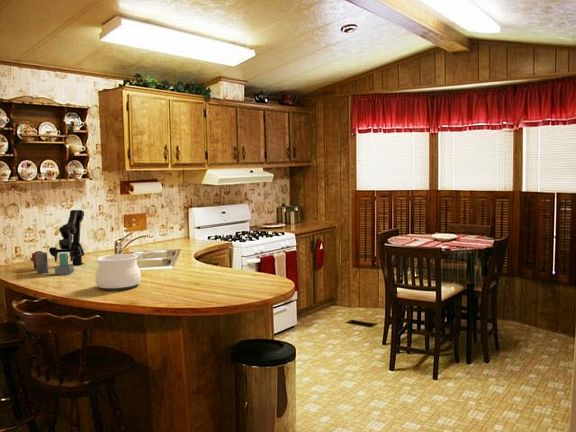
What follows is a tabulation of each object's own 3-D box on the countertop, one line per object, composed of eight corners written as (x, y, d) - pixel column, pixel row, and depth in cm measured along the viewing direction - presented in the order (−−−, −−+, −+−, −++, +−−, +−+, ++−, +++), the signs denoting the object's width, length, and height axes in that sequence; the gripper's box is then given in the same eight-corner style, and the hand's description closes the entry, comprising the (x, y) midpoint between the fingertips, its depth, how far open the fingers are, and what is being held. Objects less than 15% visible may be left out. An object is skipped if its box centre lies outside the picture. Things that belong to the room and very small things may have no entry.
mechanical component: (33, 271, 347) (29, 269, 355) (49, 269, 353) (45, 267, 361) (31, 253, 346) (28, 251, 354) (48, 251, 352) (44, 249, 360)
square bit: (62, 273, 340) (61, 253, 339) (68, 272, 341) (67, 252, 339) (60, 274, 336) (59, 254, 335) (66, 274, 337) (65, 253, 335)
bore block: (59, 272, 342) (58, 264, 342) (73, 271, 343) (73, 264, 343) (55, 275, 333) (54, 267, 333) (69, 274, 335) (69, 266, 334)
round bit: (41, 271, 346) (40, 252, 345) (50, 272, 344) (49, 252, 343) (34, 273, 339) (33, 254, 338) (43, 274, 338) (42, 254, 337)
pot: (128, 279, 316) (126, 250, 314) (153, 284, 300) (151, 254, 299) (84, 288, 294) (82, 257, 292) (108, 294, 279) (106, 262, 277)
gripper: (48, 235, 339) (44, 254, 329) (79, 233, 341) (75, 253, 331) (53, 245, 347) (49, 264, 337) (82, 244, 350) (79, 263, 340)
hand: (63, 261), depth 336 cm, fingers open, 9 cm apart
